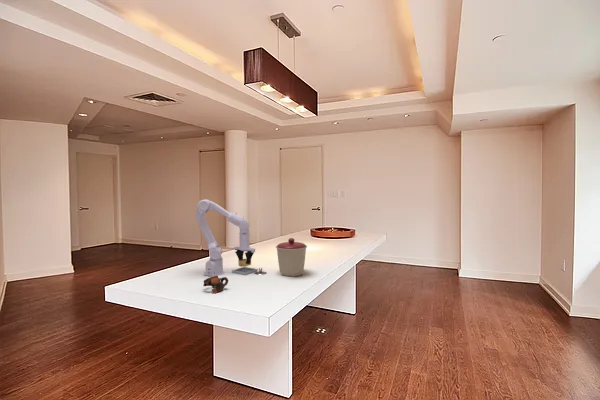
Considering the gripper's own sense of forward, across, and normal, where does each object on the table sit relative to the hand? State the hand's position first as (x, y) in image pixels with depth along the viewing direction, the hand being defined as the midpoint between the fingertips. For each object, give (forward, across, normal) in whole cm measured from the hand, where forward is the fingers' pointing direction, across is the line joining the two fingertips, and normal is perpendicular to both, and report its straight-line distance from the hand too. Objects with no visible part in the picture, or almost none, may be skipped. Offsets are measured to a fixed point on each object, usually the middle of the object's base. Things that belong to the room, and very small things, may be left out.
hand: (244, 263), depth 191 cm
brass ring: (+1, 0, 0) cm, 1 cm away
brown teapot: (+6, -10, +31) cm, 33 cm away
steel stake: (+6, -10, -3) cm, 11 cm away
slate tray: (+6, 0, 0) cm, 6 cm away
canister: (+6, -26, -12) cm, 29 cm away
